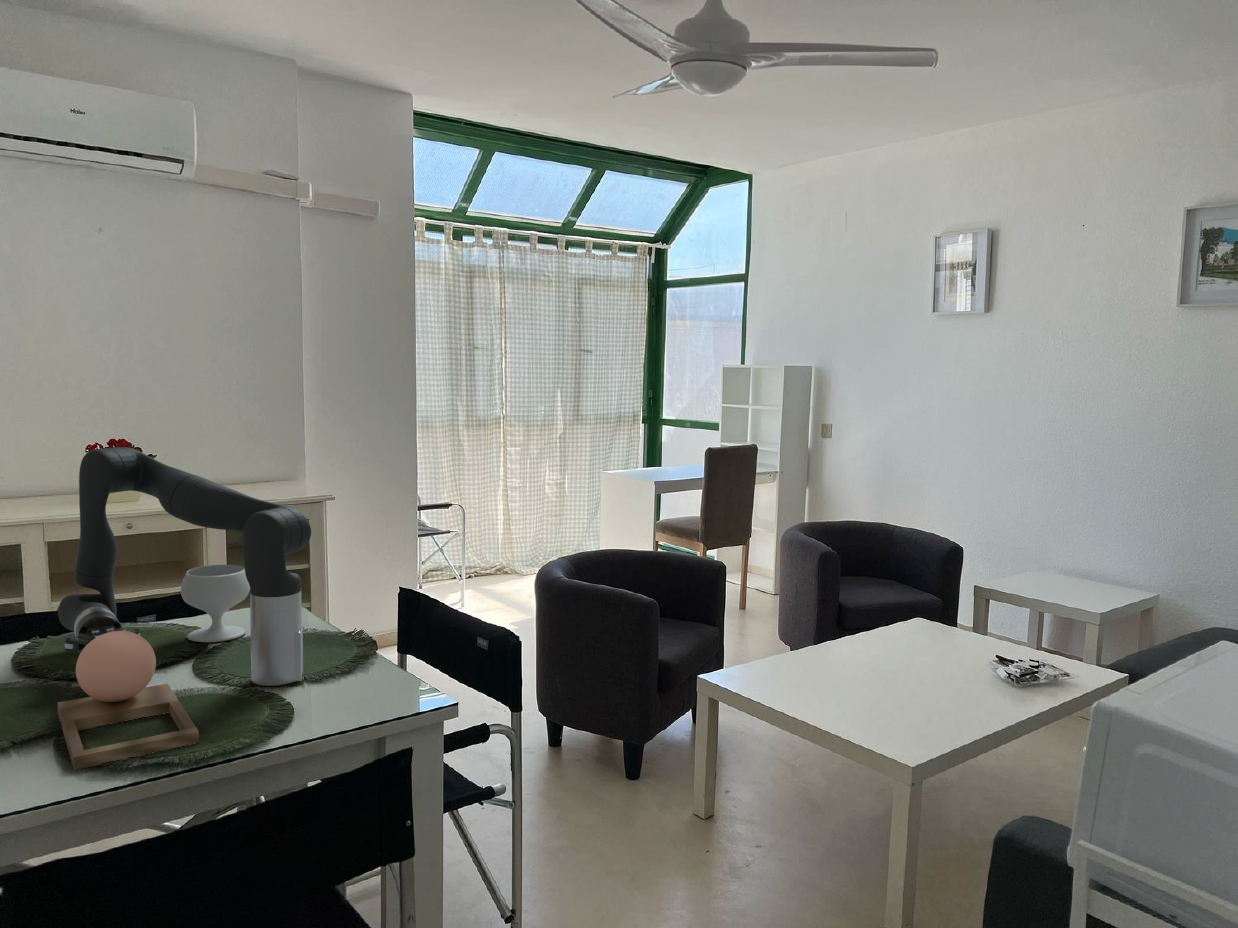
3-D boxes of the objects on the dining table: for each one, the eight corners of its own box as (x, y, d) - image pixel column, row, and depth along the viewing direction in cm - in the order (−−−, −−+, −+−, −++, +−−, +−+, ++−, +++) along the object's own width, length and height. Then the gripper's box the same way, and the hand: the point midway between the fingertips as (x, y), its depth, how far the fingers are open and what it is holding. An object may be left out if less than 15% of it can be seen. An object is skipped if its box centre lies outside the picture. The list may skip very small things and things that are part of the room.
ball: (163, 684, 158) (161, 620, 157) (148, 709, 147) (146, 640, 145) (88, 690, 154) (86, 624, 153) (67, 715, 143) (64, 644, 142)
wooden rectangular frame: (167, 693, 159) (167, 683, 159) (199, 743, 138) (198, 731, 138) (58, 713, 149) (57, 702, 149) (73, 770, 128) (73, 757, 128)
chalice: (212, 624, 203) (211, 561, 202) (264, 630, 199) (263, 566, 198) (167, 641, 190) (165, 574, 188) (221, 648, 186) (219, 579, 185)
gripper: (57, 615, 166) (65, 638, 153) (135, 605, 174) (150, 626, 161) (58, 653, 167) (67, 679, 153) (136, 642, 175) (151, 666, 161)
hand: (109, 652), depth 157 cm, fingers closed
